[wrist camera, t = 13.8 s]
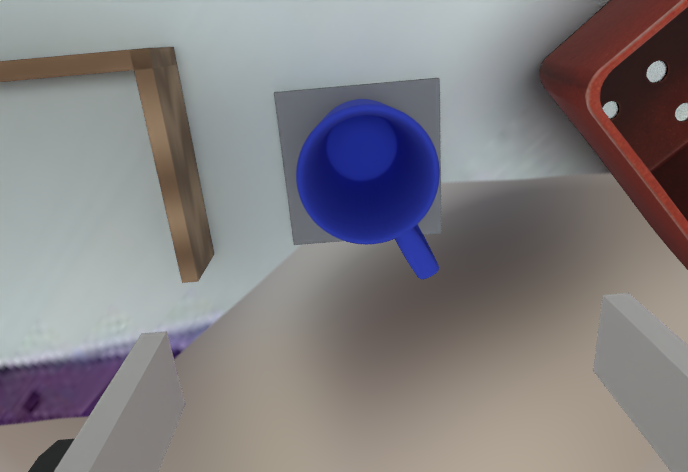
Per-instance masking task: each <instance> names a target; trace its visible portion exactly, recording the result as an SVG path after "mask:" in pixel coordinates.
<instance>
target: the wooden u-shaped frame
mask: <svg viewBox="0 0 688 472" xmlns="http://www.w3.org/2000/svg"><path fill="white" fill-rule="evenodd" d="M129 70H134V73H135V77H136V81H137V86H138V90H139V95H140V99H141V103H142V108H143V112H144V117H145V121H146V126H147V130H148V134H149V139H150V143H151V148H152V152H153V156H154V161H155V165H156V170H157V174H158V178H159V183H160V187H161V192H162V196H163V200H164V205H165V209H166V214H167V218H168V222H169V227H170V231H171V236H172V240H173V244H174V249H175V253H176V258H177V262H178V266H179V271H180V275H181V280H182V283H185V282H197V281H199V279H200V278H201V276H202V274H203V272H204V271H205V269H206V267H207V266H208V264H209V262H210V260H211V259H212V257H213V255H214V251H213V246H212V241H211V236H210V231H209V226H208V220H207V215H206V210H205V205H204V200H203V195H202V190H201V185H200V180H199V175H198V169H197V164H196V159H195V154H194V149H193V144H192V139H191V134H190V129H189V124H188V118H187V113H186V108H185V103H184V98H183V93H182V88H181V83H180V78H179V73H178V67H177V62H176V57H175V52H174V47H161V48H143V49H132V50H121V51H110V52H99V53H88V54H77V55H66V56H55V57H44V58H33V59H21V60H10V61H0V82H6V81H17V80H28V79H39V78H50V77H62V76H73V75H84V74H95V73H106V72H118V71H129Z"/></svg>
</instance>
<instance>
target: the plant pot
mask: <svg viewBox="0 0 688 472" xmlns="http://www.w3.org/2000/svg"><path fill="white" fill-rule="evenodd" d="M658 60H661V61H664V62H666V64H667V66H668V73H667V75H666V77H665V78H664V79H663V80H662V81H660V82H656V83H652V82H650V81H649V80H648V78H647V77H646V72H647V69H648V67H649V66H650V65H651V64H652V63H653V62H655V61H658ZM540 80H541V83H542V85H543V86H544V88H545V89H546V91H547V92H548V93H549V94H550V96H551V97H552V98H553V99H554V101H555V102H556V103H557V104H558V106H559V107H560V108H561V109H562V111H563V112H564V113H565V114H566V116H567V117H568V118H569V119H570V121H571V122H572V123H573V124H574V126H575V127H576V128H577V129H578V131H579V132H580V133H581V134H582V136H583V137H584V138H585V139H586V141H587V142H588V143H589V145H590V146H591V147H592V148H593V150H594V151H595V152H596V154H597V155H598V156H599V157H600V159H601V160H602V161H603V163H604V164H605V165H606V167H607V168H608V170H609V171H610V172H611V174H612V175H613V176H614V178H615V179H616V180H617V182H618V183H619V184H620V186H621V187H622V188H623V190H624V191H625V192H626V194H627V195H628V196H629V197H630V199H631V200H632V202H633V203H634V204H635V206H636V207H637V208H638V210H639V211H640V212H641V214H642V215H643V216H644V218H645V219H646V220H647V222H648V223H649V224H650V226H651V227H652V228H653V229H654V231H655V232H656V233H657V234H658V236H659V237H660V238H661V239H662V240H663V242H664V243H665V244H666V245H667V247H668V248H669V249H670V250H671V251H672V252H673V253H674V255H675V256H676V257H677V258H678V259H679V260H680V262H681V263H682V264H683V265H684V266H685V267H686V269H687V270H688V120H686V121H678V120H677V119H676V117H675V111H676V109H677V108H678V107H679V106H680V105H681V104H683V103H688V0H610V1H609V2H608V3H607V4H606V5H605V6H604V7H603V8H601V9H600V10H599V11H598V12H597V13H596V14H595V15H594V16H593V17H591V18H590V19H589V20H588V21H587V22H586V23H585V24H584V25H582V26H581V27H580V28H579V29H578V30H577V31H576V32H575V33H574V34H572V35H571V36H570V37H569V38H568V39H567V40H566V41H565V42H563V43H562V44H561V45H560V46H559V47H558V48H557V49H555V50H554V51H553V52H552V53H551V54H550V55H549V56H547V57H546V59H545V60H544V61H543V63H542V65H541V67H540ZM609 101H615V102H617V103H618V105H619V112H618V114H617V116H616V117H615V118H613V119H609V118H608V116H607V115H606V114H605V112H604V111H603V109H602V108H603V106H604V105H605V104H606V103H607V102H609Z"/></svg>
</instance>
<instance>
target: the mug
mask: <svg viewBox="0 0 688 472" xmlns="http://www.w3.org/2000/svg"><path fill="white" fill-rule="evenodd" d="M439 179H440V167H439V160H438V156H437V152H436V149H435V147H434V144H433V142H432V140H431V139H430V137H429V135H428V134H427V132H426V131H425V130H424V129H423V128H422V126H421V125H420V124H419V123H418V122H416V121H415V120H414V119H413V118H411V117H410V116H409V115H407V114H405V113H404V112H402V111H400V110H397V109H395V108H393V107H390V106H388V105H386V104H383V103H381V102H378V101H374V100H369V99H356V100H351V101H347V102H345V103H343V104H340V105H339V106H337V107H335V108H334V109H333V110H331V111H330V112H329V113H328V114H327V115H326V116H325V117H324V118H323V119H322V121H321V122H320V123H319V124H318V125H317V126H316V127H315V128H314V129H313V131H312V132H311V133H310V134H309V136H308V137H307V139H306V141H305V142H304V144H303V146H302V149H301V151H300V154H299V158H298V162H297V169H296V183H297V189H298V193H299V197H300V199H301V202H302V204H303V206H304V208H305V210H306V211H307V213H308V215H309V216H310V217H311V218H312V220H313V221H314V222H315V223H316V224H317V225H318V226H319V227H320V228H322V229H323V230H324V231H326V232H327V233H329V234H330V235H332V236H334V237H336V238H338V239H341V240H344V241H346V242H351V243H356V244H376V243H383V242H387V241H390V240H393V239H395V240H396V242H397V244H398V246H399V248H400V249H401V251H402V253H403V255H404V256H405V258H406V260H407V261H408V263H409V264H410V266H411V268H412V269H413V271H414V272H415V274H416V275H417V277H418V278H420V279H426V278H429V277H431V276H432V275H434V274H436V273H437V271H438V270H439V266H438V264H437V261H436V259H435V257H434V255H433V253H432V251H431V249H430V247H429V245H428V243H427V241H426V239H425V237H424V235H423V233H422V231H421V230H420V228H419V226H418V223H419V222H420V221H421V220H422V219H423V218H424V216H425V215H426V214H427V212H428V211H429V209H430V207H431V206H432V204H433V202H434V199H435V197H436V194H437V190H438V186H439Z"/></svg>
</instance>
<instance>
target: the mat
mask: <svg viewBox="0 0 688 472" xmlns="http://www.w3.org/2000/svg"><path fill="white" fill-rule="evenodd" d="M274 96H275V104H276V111H277V119H278V127H279V134H280V142H281V150H282V157H283V165H284V173H285V180H286V188H287V196H288V203H289V211H290V219H291V226H292V234H293V242H294V245H300V244H311V243H325V242H337V241H344V240H341V239H338V238H336V237H334V236H332V235H330V234H329V233H327V232H326V231H324V230H323V229H322V228H320V227H319V226H318V225H317V224H316V223H315V222H314V221H313V220H312V218H311V217H310V216H309V215H308V213H307V211H306V210H305V208H304V206H303V204H302V202H301V199H300V197H299V193H298V189H297V183H296V169H297V162H298V158H299V154H300V151H301V149H302V146H303V144H304V142H305V141H306V139H307V137H308V136H309V134H310V133H311V132H312V131H313V129H314V128H315V127H316V126H317V125H318V124H319V123H320V122H321V121H322V119H323V118H324V117H325V116H326V115H327V114H328V113H329V112H330V111H331V110H333V109H334V108H335V107H337V106H339V105H340V104H343V103H345V102H347V101H351V100H356V99H369V100H374V101H378V102H381V103H383V104H386V105H388V106H390V107H393V108H395V109H397V110H400V111H402V112H404V113H405V114H407V115H409V116H410V117H411V118H413V119H414V120H415V121H416V122H418V123H419V124H420V125H421V126H422V128H423V129H424V130H425V131H426V132H427V134H428V135H429V137H430V139H431V140H432V142H433V144H434V147H435V149H436V152H437V156H438V160H439V167H440V179H439V186H438V190H437V194H436V197H435V199H434V202H433V204H432V206H431V207H430V209H429V211H428V212H427V214H426V215H425V216H424V218H423V219H422V220H421V221H420V222H419V223H418V226H419V228H420V230H421V231H422V233H423V235H424V234H437V233H441V162H440V81H439V78H431V79H420V80H408V81H397V82H386V83H374V84H363V85H351V86H340V87H329V88H317V89H306V90H294V91H283V92H275V93H274Z"/></svg>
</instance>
